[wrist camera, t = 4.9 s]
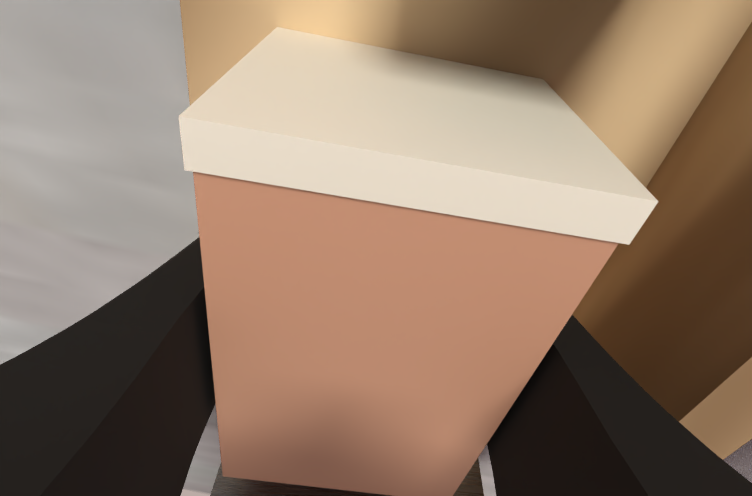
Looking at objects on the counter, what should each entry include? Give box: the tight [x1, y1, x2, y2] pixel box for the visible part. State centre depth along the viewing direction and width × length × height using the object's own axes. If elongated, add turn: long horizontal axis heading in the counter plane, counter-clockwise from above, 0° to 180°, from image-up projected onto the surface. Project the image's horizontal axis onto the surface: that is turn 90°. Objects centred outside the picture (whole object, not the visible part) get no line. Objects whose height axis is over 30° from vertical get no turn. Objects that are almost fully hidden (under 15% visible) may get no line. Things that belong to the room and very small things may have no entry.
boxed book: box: [179, 27, 659, 496], centre depth 9 cm, size 5×8×4 cm, turn 170°
